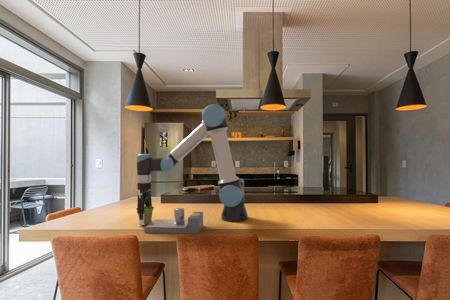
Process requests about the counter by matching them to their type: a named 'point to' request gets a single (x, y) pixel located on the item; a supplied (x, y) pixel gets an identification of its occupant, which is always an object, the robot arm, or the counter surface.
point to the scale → (193, 227)
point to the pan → (167, 224)
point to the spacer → (179, 215)
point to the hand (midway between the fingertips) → (145, 222)
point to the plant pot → (148, 214)
